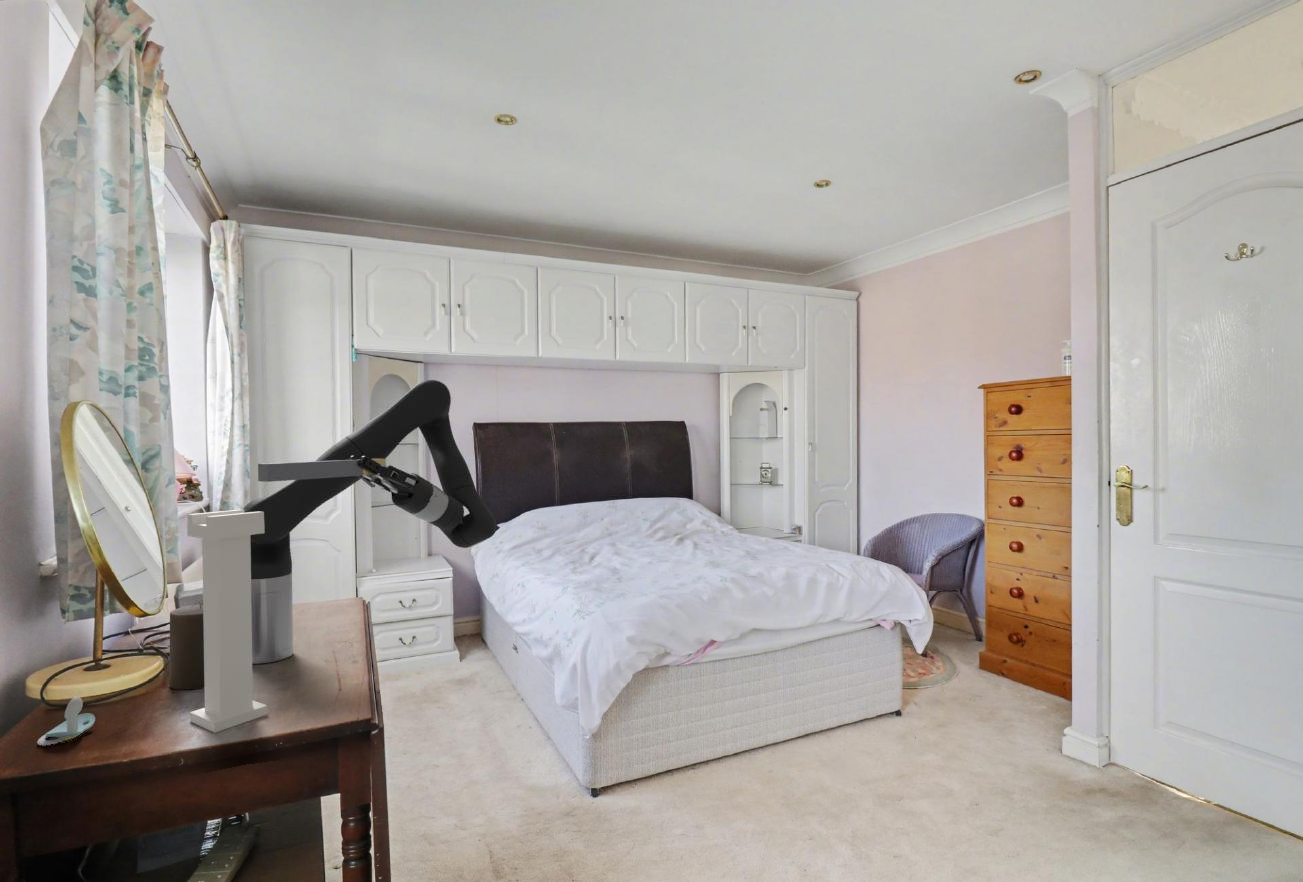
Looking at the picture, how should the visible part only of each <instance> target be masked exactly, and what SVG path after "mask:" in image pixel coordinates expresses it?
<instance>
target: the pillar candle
mask: <svg viewBox="0 0 1303 882" xmlns="http://www.w3.org/2000/svg"><path fill="white" fill-rule="evenodd" d="M168 673H169V678H168V679H169V680H168V684H169V687H170V688H171V689H173V690H179V691H180V690H181V691H183V690H187V691H188V690H196V689H197V690H198V689H205V688H204V622H203V604H201V602H200V601H199V602H198V604H193V605H186V606H182V607H178V608H175V609H173V610H171V611H169V671H168Z"/></svg>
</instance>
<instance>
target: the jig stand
mask: <svg viewBox="0 0 1303 882" xmlns="http://www.w3.org/2000/svg"><path fill="white" fill-rule="evenodd" d="M186 525H187V527H186V528H187V531H186V532H187V537H193V538H199V539H201V540H202V541H201V543H202V544H201V545H202V553H201V554H202V603H203V622H204V688H203V689H204V707H202V708H199V709H196V710H192V711H190V712H189V713H190V714H189V715H190V716H189V718H190V719H189V722H191V723H193V724H195V725H196V726H199V727H201V728H203V729H206V730H208V731H210V732H213V733H218V732H221V731H224V730H227V729H229V728H233V727H235V726H238V725H241V724H244V723H246V722H249V721H253V720H256V719H258V718H261V717H264V716H267V715H268V705H266V704H264V703H261V702H259V701H256V700H254V698H253V697H254V696H253V694H254V693H253V692H254V691H253V690H254V689H253V687H254V686H253V685H254V683H253V681H254V680H253V664H252V613H251V545H250V535H254V534H262V533H265V531H264V512H260V511H258V512H248V513H245V512H244V510H243V509H233V510H232V509H230V510H222V511H221V510H220V511H208V512H201V513H200V512H198V513H189V514H188V513H187V523H186Z"/></svg>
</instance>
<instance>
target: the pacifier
mask: <svg viewBox="0 0 1303 882" xmlns="http://www.w3.org/2000/svg"><path fill="white" fill-rule="evenodd" d="M83 706H84V703H83V699H82V698H81V697H79V696H77V695H76V696H74V697H72V698H71V699H70V701H69V702H68V704H67V706H66V707H65V708H66V709H65V711H64V719H65V721H63V722H61V723H60V724H58V725H57V726H55V727H54V728H53V729H51V730H49V731H47V732H46V733H45V734H44V735H42V736H41V737H39V738H38V740H37V742H36V744H37V745H38V746H41V745H42V746H41V747H44V746H45V747H47V746H52V745H51V744H53V745H56V744H59V743H58V742H60V743H63V742H62V741H63V740H68V739H71V738H74V737H76V736H78V735H80V734H81V733H82V734H83V733H84V732H85V731H87V730H88V729H90V728H92V727H93V726H94V724H95V721H96V717H95V715H94V714H93V713H90V712H86V713H85V712H84V713H80V712H81V710H82V708H83ZM79 713H80V714H79ZM82 734H81V735H82ZM81 735H80V736H81ZM48 737H50V738H55V739H49V738H48ZM46 738H48V739H47V740H46ZM46 745H47V746H46Z"/></svg>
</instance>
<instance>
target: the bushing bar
mask: <svg viewBox="0 0 1303 882" xmlns="http://www.w3.org/2000/svg"><path fill="white" fill-rule="evenodd" d="M372 460H374V461H376V462H377V463H379V464H384V465H386V466H387V462H386V461H387V458H386V459H372ZM359 462H360V459H357V460H334V461H316V460H313V461H310V460H309V461H293V462H292V461H291V462H287V461H286V462H270V463H269V462H268V463H267V462H266V463H264V462H263V463H258V464H257V481H258V482H265V483H268V482H271V483H272V482H283V481H284V482H285V481H295V480H302V479H318V478H333V477H348V476H363V475H375V474H376V473H375V474H372V473H370V472H369V471H367V470H365V469H363V468H362V467H360V466H359Z"/></svg>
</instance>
